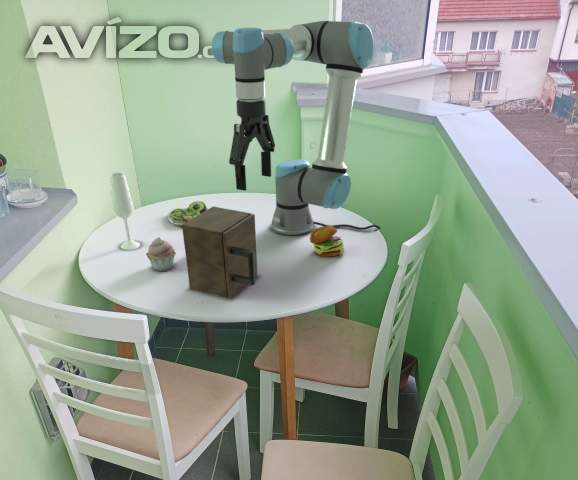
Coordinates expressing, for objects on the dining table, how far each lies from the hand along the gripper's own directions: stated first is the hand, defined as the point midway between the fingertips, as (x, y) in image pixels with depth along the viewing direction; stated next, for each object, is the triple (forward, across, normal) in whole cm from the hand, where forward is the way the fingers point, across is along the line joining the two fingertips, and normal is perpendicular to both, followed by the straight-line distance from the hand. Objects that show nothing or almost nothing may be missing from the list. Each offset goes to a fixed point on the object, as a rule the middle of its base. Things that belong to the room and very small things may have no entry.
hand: (254, 182), depth 159 cm
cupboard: (+29, +9, -8) cm, 31 cm away
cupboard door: (+29, +8, +3) cm, 30 cm away
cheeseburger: (+29, -26, +11) cm, 40 cm away
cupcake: (+29, +8, -30) cm, 43 cm away
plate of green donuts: (+29, -30, -47) cm, 63 cm away
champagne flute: (+29, 0, -51) cm, 59 cm away
